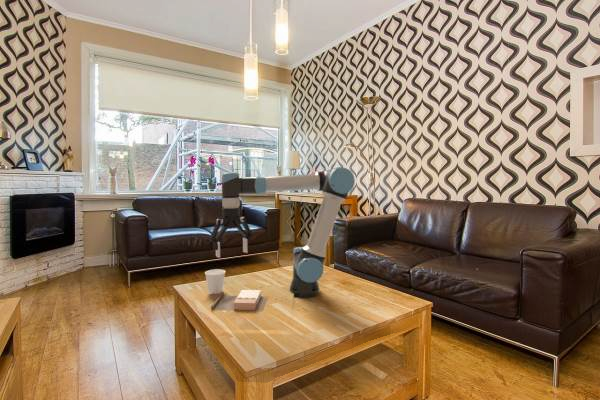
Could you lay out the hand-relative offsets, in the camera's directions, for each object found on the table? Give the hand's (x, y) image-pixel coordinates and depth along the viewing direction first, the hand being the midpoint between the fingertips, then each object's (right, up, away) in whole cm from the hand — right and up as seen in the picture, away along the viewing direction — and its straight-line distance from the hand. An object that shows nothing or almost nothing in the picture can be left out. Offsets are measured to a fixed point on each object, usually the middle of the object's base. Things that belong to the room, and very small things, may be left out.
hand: (232, 254), depth 143 cm
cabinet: (+7, -22, -5) cm, 24 cm away
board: (+4, -23, 0) cm, 23 cm away
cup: (-11, -22, +15) cm, 29 cm away
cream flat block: (+7, -22, +3) cm, 23 cm away
